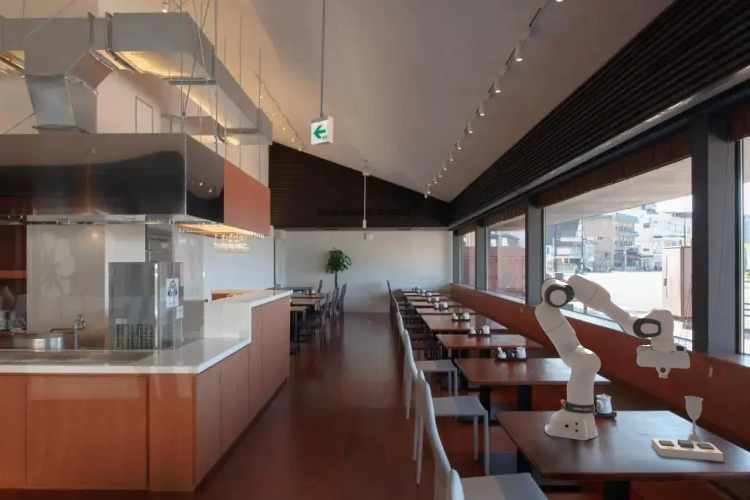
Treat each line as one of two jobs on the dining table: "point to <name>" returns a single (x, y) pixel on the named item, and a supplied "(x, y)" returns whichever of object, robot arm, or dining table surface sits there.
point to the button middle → (685, 443)
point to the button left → (666, 443)
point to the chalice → (694, 414)
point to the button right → (705, 446)
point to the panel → (687, 451)
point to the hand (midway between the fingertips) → (663, 377)
